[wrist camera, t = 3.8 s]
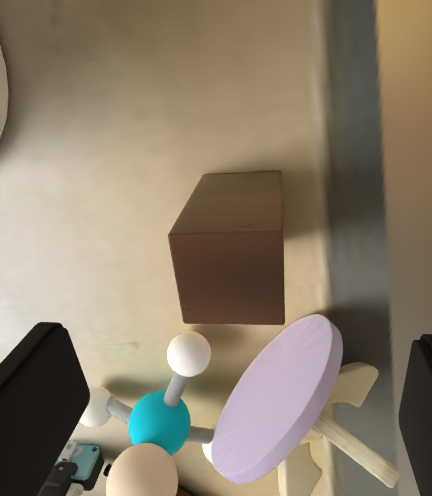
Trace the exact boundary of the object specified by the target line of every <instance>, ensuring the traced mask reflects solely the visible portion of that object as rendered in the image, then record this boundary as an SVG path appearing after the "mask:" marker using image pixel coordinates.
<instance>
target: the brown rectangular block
mask: <svg viewBox="0 0 432 496" xmlns="http://www.w3.org/2000/svg"><path fill="white" fill-rule="evenodd" d="M168 239H169V245H170V250H171V256H172V261H173V267H174V272H175V278H176V283H177V289H178V294H179V300H180V305H181V311H182V316H183V322H184V323H187V324H244V325H284V323H285V305H284V243H283V207H282V177H281V171H265V172H247V173H229V174H211V175H203V176H202V178H201V179H200V181H199V183H198V184H197V186H196V188H195V190H194V191H193V193H192V195H191V196H190V198H189V200H188V202H187V203H186V205H185V207H184V208H183V210H182V212H181V214H180V215H179V217H178V219H177V220H176V222H175V224H174V226H173V227H172V229H171V231H170V232H169V234H168Z"/></svg>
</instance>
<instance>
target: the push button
mask: <svg viewBox="0 0 432 496" xmlns="http://www.w3.org/2000/svg"><path fill="white" fill-rule="evenodd" d="M103 464H104V460H103V458H102V455H101V453H100V450H99V448H98V446H96V445H82V444H77V443H76V441H68V442H67V443H66V445H65V447H64V449H63V451H62V452H61V454H60V456H59V458H58V460H57V461H56V463H55V465H54V467H53V469H52V470H51V472H50V474H49V476H48V478H47V479H46V481H45V483H44V485H43V487H42V488H41V490H40V492H39V494H38V496H79V495H81V494H82V493H83V491H84V490H86V491H90V490H92V489H93V488H94V486H95V483H96V481H97V479H98V476H99V474H100V471H101V469H102V467H103Z"/></svg>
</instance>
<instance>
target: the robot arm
mask: <svg viewBox="0 0 432 496" xmlns="http://www.w3.org/2000/svg"><path fill="white" fill-rule="evenodd" d="M8 96H9V93H8V82H7V72H6V65H5V62H4V58H3V54H2V50H1V46H0V138H1V136H2V132H3V129H4V126H5V122H6V119H7V109H8ZM89 401H90V390H89V388H88V385H87V382H86V379H85V377H84V374H83V371H82V369H81V366H80V363H79V360H78V358H77V355H76V352H75V349H74V347H73V344H72V341H71V338H70V336H69V333H68V331H67V329H66V328H64V327H63V326H62V324H60V323H53V322H40V323H38V324H36V325H35V326H34V327H33V328H32V329H31V331H30V332H29V333H28V334H27V335H26V336H25V337H24V338H23V339H22V340H21V342H20V343H19V344H18V345H17V346H16V347H15V348H14V349H13V350H12V351H11V353H10V354H9V355H8V356H7V357H6V358H5V359H4V360H3V361H2V362H1V363H0V496H38V494H39V492H40V490H41V488H42V487H43V485H44V483H45V481H46V479H47V478H48V476H49V474H50V472H51V470H52V469H53V467H54V465H55V463H56V461H57V460H58V458H59V456H60V454H61V452H62V451H63V449H64V447H65V445H66V443H67V442H68V440H69V438H70V436H71V435H72V433H73V431H74V429H75V427H76V426H77V424H78V422H79V420H80V418H81V417H82V415H83V413H84V411H85V409H86V408H87V406H88V404H89ZM399 426H400V430H401V433H402V437H403V440H404V443H405V447H406V450H407V453H408V456H409V460H410V463H411V466H412V470H413V473H414V476H415V479H416V483H417V486H418V489H419V492H420V496H432V334H423V335H422V336H421V338H420V340H414V341H413V343H412V347H411V352H410V358H409V362H408V368H407V373H406V378H405V384H404V389H403V394H402V400H401V404H400V410H399Z"/></svg>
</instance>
